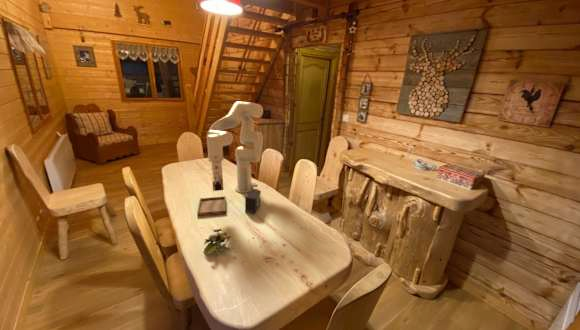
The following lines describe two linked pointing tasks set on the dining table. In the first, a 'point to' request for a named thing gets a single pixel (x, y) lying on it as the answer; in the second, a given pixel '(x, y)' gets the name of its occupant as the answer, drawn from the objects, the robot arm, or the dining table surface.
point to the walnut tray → (212, 206)
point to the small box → (252, 201)
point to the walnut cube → (214, 184)
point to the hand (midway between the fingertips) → (218, 187)
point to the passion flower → (217, 239)
